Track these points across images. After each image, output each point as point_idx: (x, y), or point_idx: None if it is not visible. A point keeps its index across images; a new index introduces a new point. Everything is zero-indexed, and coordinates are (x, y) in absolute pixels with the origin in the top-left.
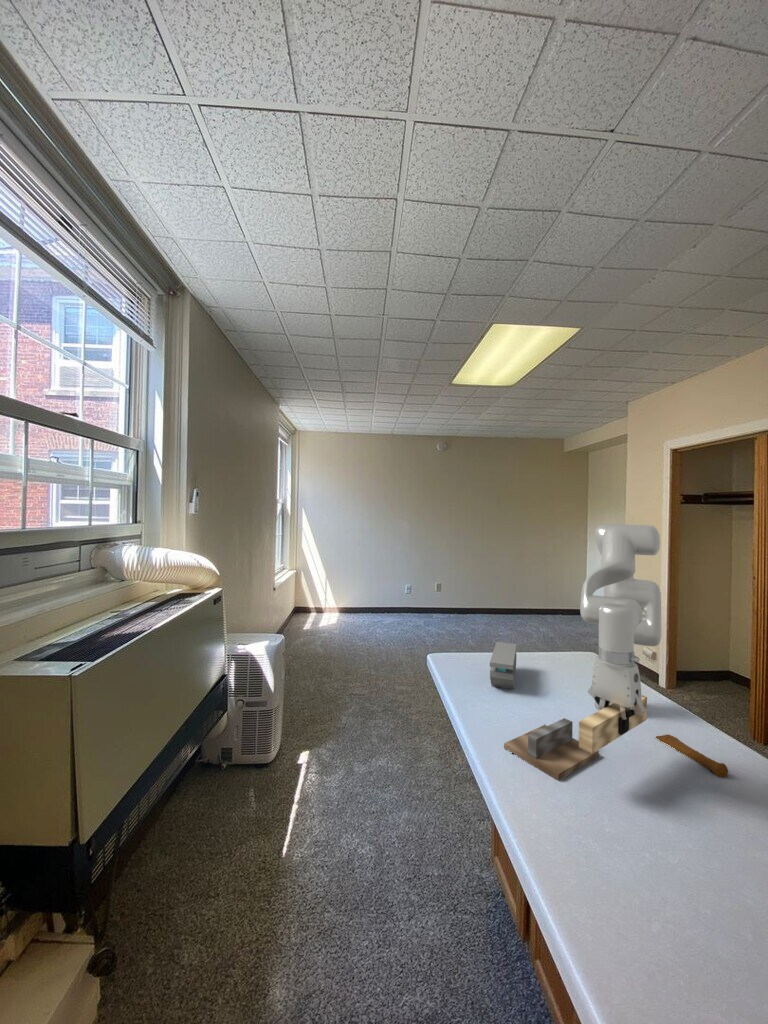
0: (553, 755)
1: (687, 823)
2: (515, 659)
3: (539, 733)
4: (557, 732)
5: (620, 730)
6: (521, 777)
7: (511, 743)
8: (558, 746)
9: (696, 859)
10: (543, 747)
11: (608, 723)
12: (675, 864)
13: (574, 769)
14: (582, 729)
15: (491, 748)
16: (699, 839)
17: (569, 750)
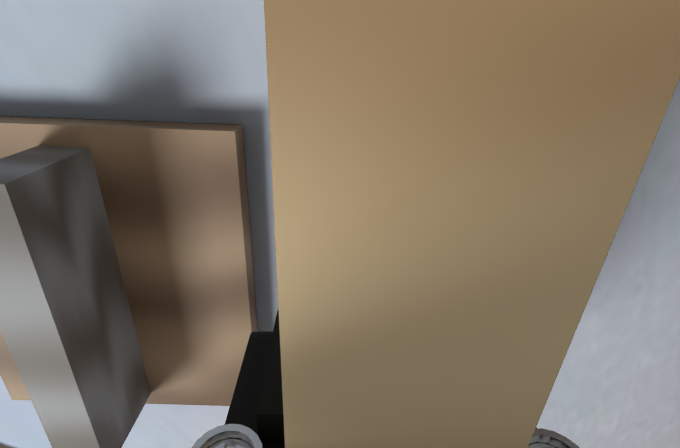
0: (161, 331)
1: (642, 277)
2: None
3: (69, 432)
4: (74, 323)
5: None
6: (192, 443)
7: (22, 383)
8: (117, 267)
9: (660, 390)
10: (125, 383)
11: None
12: (614, 432)
13: (254, 311)
14: None
15: (12, 406)
16: (674, 319)
17: (163, 251)
